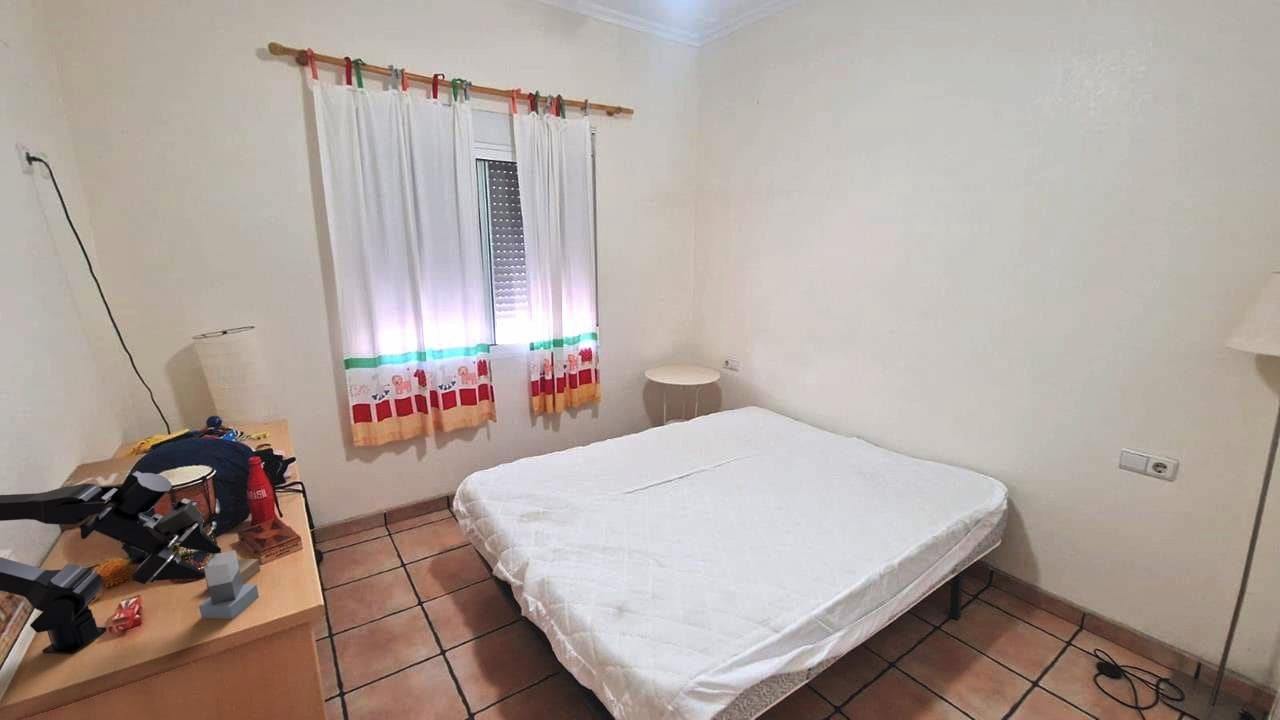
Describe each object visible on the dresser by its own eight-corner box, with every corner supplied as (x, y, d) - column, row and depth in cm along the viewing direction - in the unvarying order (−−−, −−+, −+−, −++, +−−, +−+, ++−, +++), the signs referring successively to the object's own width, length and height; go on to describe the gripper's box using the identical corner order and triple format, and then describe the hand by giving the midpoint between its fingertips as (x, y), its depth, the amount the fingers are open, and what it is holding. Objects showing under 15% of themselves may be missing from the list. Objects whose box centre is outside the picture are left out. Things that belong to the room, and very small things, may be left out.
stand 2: (201, 617, 108) (198, 605, 107) (229, 595, 114) (226, 583, 114) (232, 618, 107) (230, 606, 106) (258, 596, 114) (256, 584, 113)
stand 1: (207, 588, 117) (205, 577, 116) (233, 569, 123) (230, 558, 123) (236, 589, 116) (234, 578, 116) (260, 570, 123) (258, 559, 122)
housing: (212, 604, 107) (203, 567, 105) (221, 590, 112) (212, 554, 109) (235, 599, 109) (227, 563, 106) (243, 585, 113) (235, 550, 111)
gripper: (139, 519, 93) (224, 558, 100) (182, 477, 110) (252, 512, 117) (93, 567, 92) (182, 603, 99) (144, 517, 109) (217, 550, 116)
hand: (211, 563), depth 108 cm, fingers open, 9 cm apart
